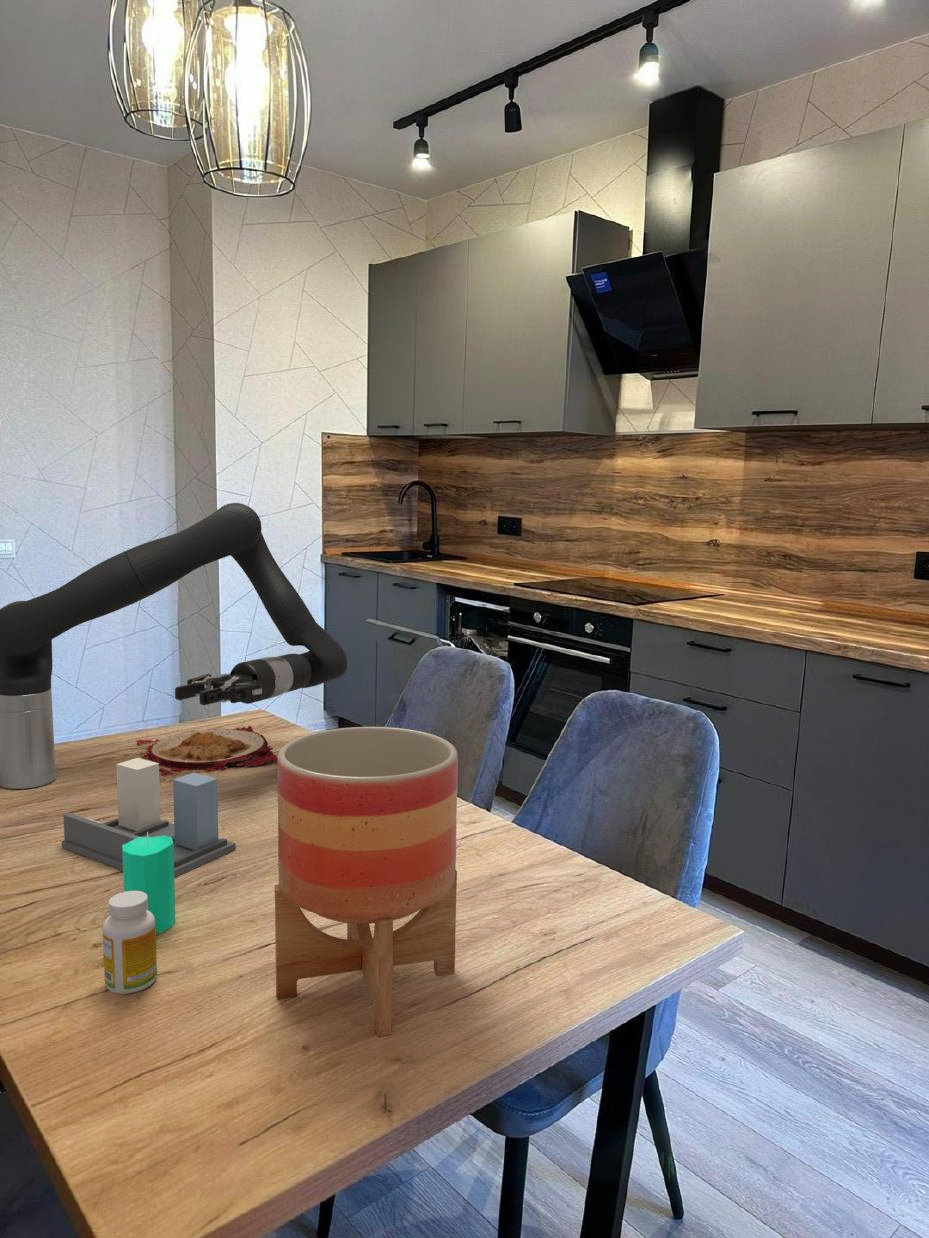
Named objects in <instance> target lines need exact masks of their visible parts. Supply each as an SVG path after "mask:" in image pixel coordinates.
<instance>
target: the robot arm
mask: <svg viewBox="0 0 929 1238" xmlns="http://www.w3.org/2000/svg"><path fill="white" fill-rule="evenodd" d="M262 529H263V527H262V522H261V518H260V516H259V514H257V512H256V510H254V509H253V508H252V507H250V506H249V505H247V504H244V503H241V502H233V503H232V502H231V503H227V504H224V505H222V506H221V507H219V508H218V509H216V510H215V511H213V512H212V513H211V514H210V515H208V516H206V517H205V518H203V519H202V520H199V521H197V522H196V523H193V524H192V525H190V526H189V527H187V528H185V529H183V530H180V531H178V532H176V533H174V534H173V533H172V534H170V535H167V536H163V537H159V538H157V539H154V540H151V541H147V542H144V543H141V544H139V545H136V546H134V547H131V548H128V549H127V550H125V551H122V552H120V553H117V554H116V555H113V556H111V557H110V558H107V559H104V560H103V561H101V562H100V563H97V564H96V565H94V566H92V567H90V568H89V569H87V570H85V571H84V572H81V573H80V574H79V575H77V576H76V577H74V578H73V579H71V580H70V581H68V582H67V583H65V584H63V585H61V586H60V587H58V588H56V589H54V590H52V591H49V592H47V593H45V594H42V595H40V596H36V597H34V598H30V599H28V600H17V601H14V602H10V603H9V604H7V605H4V606H2V607H1V608H0V787H2V788H5V789H10V790H13V789H14V790H20V789H21V790H23V789H24V790H25V789H32V788H37V787H42V786H45V785H48V784H51V783H53V781H55V780H56V776H57V775H56V757H55V755H56V754H55V753H56V752H55V733H54V713H53V695H52V692H53V691H52V674H53V639H56V638H57V637H59V636H61V635H62V634H65V632H68V631H70V630H72V629H73V628H75V627H77V626H79V625H82V624H84V623H87V622H90V621H92V620H96V619H98V618H101V617H104V616H106V615H109V614H112V613H115V612H116V611H117V612H118V611H119V610H121V609H123V608H126V607H128V606H131V605H134V604H135V603H138V602H140V601H142V600H145V599H146V598H148V597H151V596H153V595H154V594H157V593H158V592H160V591H162V590H164V589H166V588H167V587H169V586H170V585H172V584H174V583H176V582H177V581H179V580H181V579H182V578H184V577H185V576H187V575H188V574H190V573H192V572H193V571H195V570H197V569H199V568H201V567H203V566H205V565H206V566H207V565H208V564H211V563H214V562H215V561H219V560H221V559H224V558H227V557H232V559H233V560H234V561H235V562H236V563H237V564H238V565H239V567H240V568H241V570H242V571H243V573H244V574H245V575H246V577H247V578H248V580H249V582H250V583H251V585H252V586H253V589H255V590H254V591H255V592H256V593H257V596H258V597H259V599H260V601H261V603H262V605H263V606H264V608H265V611H266V612H267V613H268V616H269V617H270V619H271V621H272V622H273V624H274V625H275V626H276V628H277V630H278V632H279V633H280V635H281V636H282V638H283V640H284V641H285V642H286V643H287V644H288V645H289V646H292V647H296V646H299V647H301V646H302V647H304V648H305V649H307V650H308V651H306V652H302V653H300V654H299V653H288V654H287V653H286V654H282V655H277V656H267V657H260V658H256V659H252V660H246V661H242V662H239V663H237V664H235V665H234V666H233V668H232V669H231V671H230V672H229V673H221V674H220V675H214V676H212V674H211V673H206V674H203V675H199V676H197V677H193V678H189V679H187V682H186V683H187V684H183V685H178V686H176V687H175V688H174V697H175V700H177V701H182V700H187V699H191V698H196V697H199V704H200V705H202V706H207V705H211V704H215V703H219V702H220V703H227V702H230V703H231V704H236V703H242V704H244V705H245V704H246V705H248V704H253V703H257V702H261V701H265V700H269V699H272V698H276V697H279V696H281V695H283V694H286V693H290V692H294V691H296V690H299V689H307V688H311V687H315V686H319V685H323V684H325V683H328V682H330V681H333V680H336V679H339V678H340V677H342V676H343V675H344V674H346V672H347V669H348V663H349V662H348V658H347V654H346V652H345V651H344V649H343V647H342V646H341V645H340V644H339V642H338V641H337V640H336V639H335V638H333V637H332V636H331V635H330V634H329V633H328V631H326V630H325V628H323V627H322V626H321V625H319V623H318V622H317V621H316V619H315V617H314V616H313V615H312V613H311V611H310V610H309V608H308V607H307V605H306V603H305V602H304V600H303V598H302V597H301V595H300V594H299V593H298V591H297V590H296V588H295V586H293V584H292V583H291V582H290V580H289V579H288V578H287V576H286V575H285V573H284V572H283V570H282V569H281V567H280V565H278V563H277V562H276V560H275V558H274V555H272V553H271V551H270V549H269V546H268V545H267V542H266V540H265V538H264V535H263V532H262Z"/></svg>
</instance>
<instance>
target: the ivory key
mask: <svg viewBox="0 0 929 1238" xmlns="http://www.w3.org/2000/svg"><path fill="white" fill-rule="evenodd" d="M115 766H116V793H117V815H118V816H117V818H118V822H119V826H122V827H125V828H128V829H131V830H134V831H138V830H141V829H143V828H146V827H149V826H151V825H154V824H156V823H159V822H161V820H162V818H161V793H160V792H161V790H160V789H161V788H160V785H161V784H160V771H159V769H160V763H156V762H153V761H152V760H149V759H143V758H140V757H136V758H133V759H129V760H125V761H122V762H119V763H116V765H115Z"/></svg>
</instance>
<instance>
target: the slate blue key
mask: <svg viewBox="0 0 929 1238" xmlns="http://www.w3.org/2000/svg"><path fill="white" fill-rule="evenodd" d="M172 788H173V790H172V791H173V792H172V793H173V794H172V795H173V824H174V835H175V844H177V845H180V846H183V847H186V848H189V849H192V850H197V849H200V848H202V847H204V846H207V845H209V844H211V843H214V842H216V841H218V840H219V806H218V805H219V802H218V801H219V800H218V799H219V798H218V796H219V794H218V793H219V792H218V788H219V787H218V778H216V777H212V776H209V775H205V774H201V773H197V772H191V773H188V774H186V775H183V776H179V777H177V778H174V779H172Z"/></svg>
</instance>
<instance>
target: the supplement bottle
mask: <svg viewBox="0 0 929 1238" xmlns="http://www.w3.org/2000/svg"><path fill="white" fill-rule="evenodd" d="M147 909H148V896H147V894H146V893H144V892H141V891H127V892H124V891H123V892H120V893H117V894H115V895H113V896H111V897H110V898H109V900H108V914H109V916H107V918H106V919H105V920H104V922H103V924H102V946H103V947H102V949H103V951H102V952H103V969H104V970H103V971H104V973H103V975H104V985H105V987H106V989H107V990H108V991H109V992H111V993H114V994H120V995H124V994H127V995H128V994H132V993H133V994H134V993H137V992H139V991H140V992H141V991H143V990H145V989H146V988H148V987H150V986H151V985H152V984H153V983H154V982H155V981H156V979H157V975H158V966H157V965H158V964H157V963H158V962H157V938H156V936H157V934H156V931H155V918H154V915H153V914H152V913H151V912H150V911H148V910H147Z"/></svg>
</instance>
